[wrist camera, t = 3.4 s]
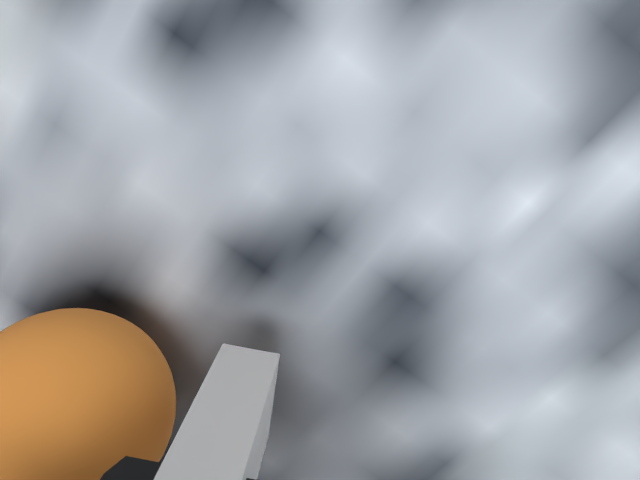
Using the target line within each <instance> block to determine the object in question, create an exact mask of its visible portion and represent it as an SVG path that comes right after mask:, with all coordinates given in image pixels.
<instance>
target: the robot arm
mask: <svg viewBox="0 0 640 480" xmlns="http://www.w3.org/2000/svg"><path fill="white" fill-rule="evenodd" d="M279 358H280V354H278V353H272V352H267V351H261V350H256V349H251V348H245V347H240V346H234V345H229V344H222V346H221V348H220V350H219V352H218V354H217V356H216V357H215V359H214V361H213V363H212V365H211V367H210V369H209V371H208V373H207V375H206V377H205V379H204V381H203V383H202V385H201V387H200V389H199V391H198V393H197V395H196V397H195V399H194V401H193V403H192V405H191V407H190V409H189V411H188V413H187V415H186V417H185V419H184V421H183V423H182V424H181V426H180V428H179V430H178V432H177V434H176V436H175V438H174V440H173V442H172V444H171V446H170V448H169V450H168V452H167V454H166V456H165V458H164V460H163V462H162V463H160V462H155V461H150V460H145V459H140V458H134V457H129V456H125V457H124V458H123V459H121V460H120V461H119V462H118V463H116V464H115V465H114V466H113V467H111V468H110V469H109V470H108V471H106V472H105V473H104V474H103V475H102V477H101V479H100V480H257V478H258V474H259V470H260V467H261V463H262V459H263V456H264V452H265V448H266V444H267V441H268V437H269V430H270V423H271V416H272V408H273V401H274V394H275V387H276V380H277V373H278V366H279Z"/></svg>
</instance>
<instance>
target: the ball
mask: <svg viewBox="0 0 640 480" xmlns="http://www.w3.org/2000/svg"><path fill="white" fill-rule="evenodd" d="M175 415H176V392H175V385H174V380H173V376H172V372H171V370H170V368H169V365H168V363H167V361H166V359H165V357H164V355H163V354H162V352H161V350H160V349H159V348H158V346H157V345H156V343H155V342H154V341H153V340H152V339H151V338H150V337H149V336H148V335H147V334H146V333H145V332H144V331H142V330H141V329H140V328H139V327H137V326H136V325H134V324H133V323H131V322H129V321H127V320H126V319H124V318H121V317H119V316H116V315H114V314H111V313H107V312H104V311H100V310H94V309H87V308H66V309H57V310H52V311H47V312H43V313H39V314H36V315H33V316H30V317H28V318H25V319H23V320H21V321H18V322H16V323H14V324H13V325H11V326H9V327H7V328H6V329H4V330H3V331H1V332H0V480H100V479H101V477H102V475H103V474H104V473H105V472H106V471H108V470H109V469H110V468H111V467H113V466H114V465H115V464H116V463H118V462H119V461H120V460H121V459H123V458H124V457H125V456H129V457H134V458H140V459H145V460H150V461H155V462H159V461H160V460H161V458H162V456H163V455H164V452H165V450H166V448H167V445H168V443H169V440H170V438H171V434H172V430H173V426H174V421H175Z"/></svg>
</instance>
